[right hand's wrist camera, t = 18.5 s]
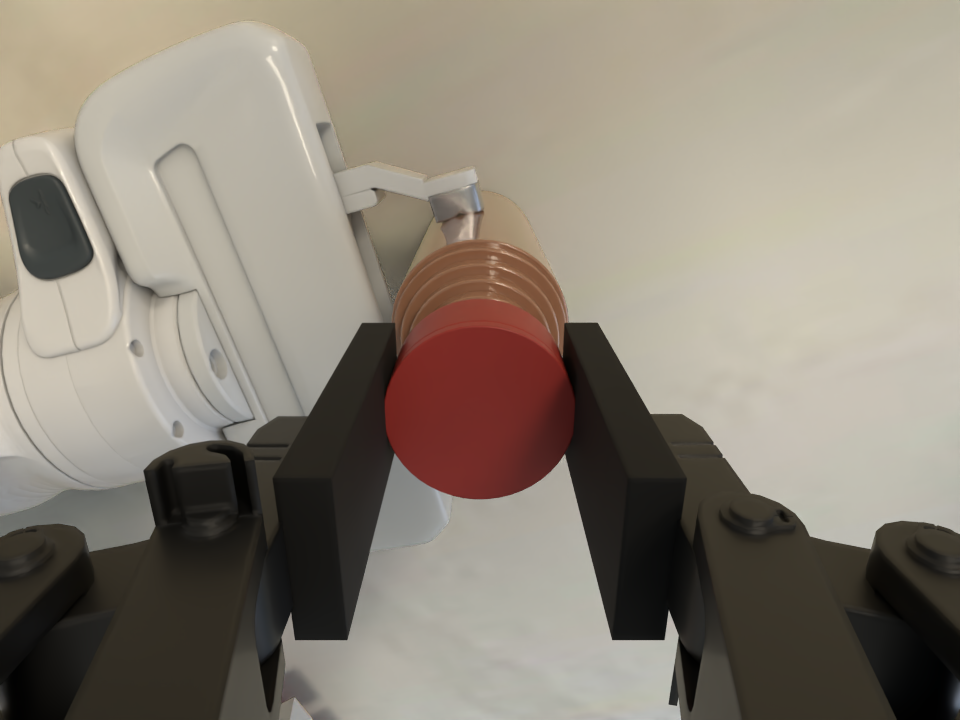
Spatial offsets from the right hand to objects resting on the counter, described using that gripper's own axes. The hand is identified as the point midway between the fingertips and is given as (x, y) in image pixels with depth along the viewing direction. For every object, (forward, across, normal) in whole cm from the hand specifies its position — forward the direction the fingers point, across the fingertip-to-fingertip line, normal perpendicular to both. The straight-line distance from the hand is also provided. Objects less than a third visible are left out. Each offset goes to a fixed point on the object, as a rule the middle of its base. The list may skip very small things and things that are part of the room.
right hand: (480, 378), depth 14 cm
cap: (-2, 0, 0) cm, 2 cm away
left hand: (+10, -1, 0) cm, 10 cm away
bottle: (+16, 0, 0) cm, 16 cm away
